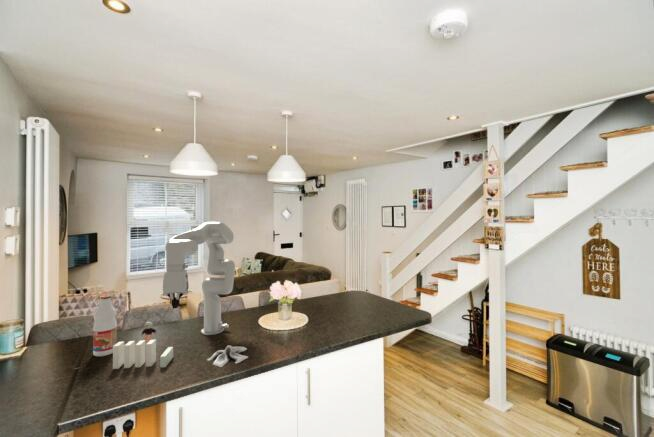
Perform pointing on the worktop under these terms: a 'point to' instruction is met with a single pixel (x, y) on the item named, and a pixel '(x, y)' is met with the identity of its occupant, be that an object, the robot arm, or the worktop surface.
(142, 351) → the domino
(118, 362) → the domino
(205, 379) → the worktop surface
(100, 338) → the fruit juice
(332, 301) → the worktop surface
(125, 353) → the domino
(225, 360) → the cloth
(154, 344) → the domino
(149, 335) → the grandmother figurine
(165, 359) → the domino
